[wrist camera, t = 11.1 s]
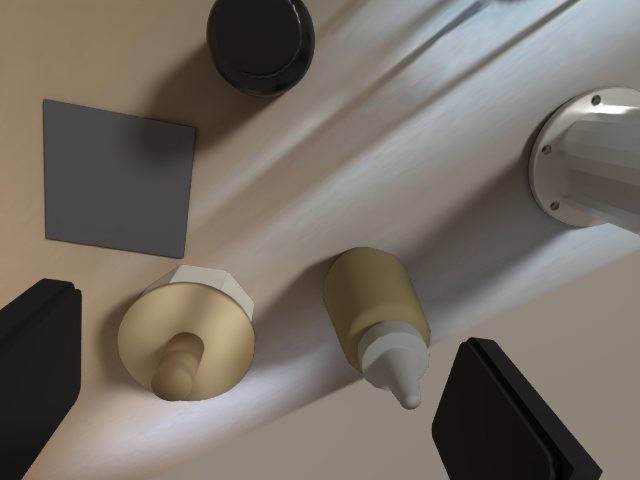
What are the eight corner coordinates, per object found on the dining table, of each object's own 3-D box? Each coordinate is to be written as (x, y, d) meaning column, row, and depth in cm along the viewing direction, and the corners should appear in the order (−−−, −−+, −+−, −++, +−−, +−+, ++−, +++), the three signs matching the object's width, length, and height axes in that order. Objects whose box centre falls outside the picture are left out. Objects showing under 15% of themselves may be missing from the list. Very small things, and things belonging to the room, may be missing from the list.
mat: (196, 127, 35) (195, 128, 35) (183, 256, 39) (182, 258, 38) (46, 99, 34) (43, 99, 33) (48, 236, 37) (46, 237, 37)
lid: (263, 292, 36) (259, 329, 30) (245, 400, 39) (238, 451, 34) (124, 272, 34) (92, 307, 29) (119, 386, 38) (89, 437, 32)
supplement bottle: (265, 114, 35) (254, 123, 24) (206, 47, 33) (163, 24, 22) (326, 56, 34) (344, 38, 23) (268, -16, 32) (257, -76, 21)
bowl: (258, 275, 40) (255, 297, 36) (244, 364, 43) (239, 394, 39) (148, 259, 39) (131, 279, 34) (142, 352, 42) (125, 381, 38)
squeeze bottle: (415, 282, 41) (502, 411, 25) (347, 323, 43) (387, 475, 26) (373, 219, 39) (439, 315, 22) (303, 265, 40) (314, 390, 23)
